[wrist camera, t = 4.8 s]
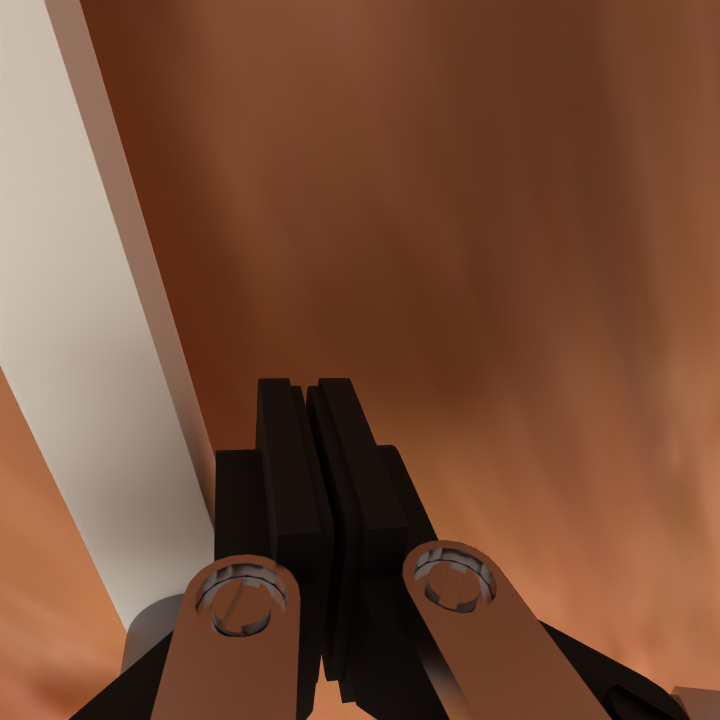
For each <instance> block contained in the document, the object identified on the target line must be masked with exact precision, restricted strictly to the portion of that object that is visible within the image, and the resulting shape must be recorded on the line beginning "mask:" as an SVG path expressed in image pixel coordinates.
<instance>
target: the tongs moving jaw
mask: <svg viewBox="0 0 720 720" xmlns="http://www.w3.org/2000/svg"><path fill="white" fill-rule="evenodd" d="M0 366H1V368H2V371H3V373H4V375H5V377H6V379H7V381H8V383H9V385H10V387H11V390H12V392H13V394H14V396H15V398H16V400H17V402H18V404H19V406H20V408H21V411H22V413H23V415H24V417H25V419H26V421H27V423H28V425H29V427H30V430H31V432H32V434H33V436H34V438H35V440H36V442H37V444H38V446H39V449H40V451H41V453H42V455H43V457H44V459H45V461H46V463H47V465H48V467H49V470H50V472H51V474H52V476H53V478H54V480H55V482H56V484H57V486H58V489H59V491H60V493H61V495H62V497H63V499H64V501H65V503H66V505H67V508H68V510H69V512H70V514H71V516H72V518H73V520H74V522H75V524H76V526H77V529H78V531H79V533H80V535H81V537H82V539H83V541H84V543H85V545H86V548H87V550H88V552H89V554H90V556H91V558H92V560H93V562H94V564H95V566H96V569H97V571H98V573H99V575H100V577H101V579H102V581H103V583H104V585H105V588H106V590H107V592H108V594H109V596H110V598H111V600H112V602H113V604H114V607H115V609H116V611H117V613H118V615H119V617H120V619H121V621H122V623H123V625H124V628H125V630H126V632H127V637H126V643H125V649H124V655H123V661H122V667H121V673H120V675H121V674H122V673H124V672H125V671H126V670H127V669H128V668H129V667H131V666H132V665H133V664H134V663H135V662H136V661H138V660H139V659H140V658H141V657H142V656H143V655H145V654H146V653H147V652H148V651H149V650H150V649H152V648H153V647H154V646H155V645H156V644H157V643H159V642H160V641H161V640H162V639H163V638H164V637H166V636H167V635H168V634H169V633H170V632H171V631H173V630H174V628H175V625H176V621H177V617H178V613H179V609H180V606H181V602H182V598H183V595H184V593H185V591H186V589H187V586H188V584H189V582H190V581H191V580H192V579H193V578H194V577H195V576H196V574H197V573H198V572H199V571H200V570H201V569H203V568H205V567H206V566H208V565H210V564H211V563H213V562H214V531H215V471H216V461H215V458H214V454H213V451H212V448H211V444H210V441H209V438H208V434H207V431H206V427H205V424H204V421H203V417H202V414H201V410H200V407H199V404H198V400H197V397H196V393H195V390H194V387H193V383H192V380H191V376H190V373H189V370H188V366H187V363H186V360H185V356H184V353H183V349H182V346H181V343H180V339H179V336H178V332H177V329H176V326H175V322H174V319H173V315H172V312H171V309H170V305H169V302H168V299H167V295H166V292H165V288H164V285H163V282H162V278H161V275H160V271H159V268H158V265H157V261H156V258H155V254H154V251H153V248H152V244H151V241H150V238H149V234H148V231H147V227H146V224H145V221H144V217H143V214H142V210H141V207H140V204H139V200H138V197H137V193H136V190H135V187H134V183H133V180H132V177H131V173H130V170H129V166H128V163H127V160H126V156H125V153H124V149H123V146H122V143H121V139H120V136H119V132H118V129H117V126H116V122H115V119H114V116H113V112H112V109H111V105H110V102H109V99H108V95H107V92H106V88H105V85H104V82H103V78H102V75H101V71H100V68H99V65H98V61H97V58H96V54H95V51H94V48H93V44H92V41H91V38H90V34H89V31H88V27H87V24H86V21H85V17H84V14H83V10H82V7H81V4H80V0H0Z"/></svg>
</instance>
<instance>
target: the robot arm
mask: <svg viewBox="0 0 720 720" xmlns="http://www.w3.org/2000/svg"><path fill="white" fill-rule="evenodd" d="M321 654H322V660H323V666H324V672H325V677H326V680H327V681H335V680H338V683H339V688H340V693H341V699H342V703H348V702H355V701H356V705H357V706H358V707H360V708H361V709H363V710H364V711H365V712H367V713H368V714H370V715H371V716H373V717H374V720H720V691H716V690H707V689H697V688H687V687H678V686H675V687H674V689H673V690H672V692H671V694H668V693H667V692H666V691H665V690H664V689H663V688H661V687H660V686H658V685H657V684H655V683H653V682H652V681H650V680H649V679H647V678H646V677H644V676H642V675H641V674H639V673H637V672H635V671H633V670H631V669H629V668H627V667H626V666H624V665H622V664H620V663H618V662H616V661H614V660H613V659H611V658H609V657H607V656H605V655H603V654H601V653H600V652H598V651H596V650H594V649H592V648H590V647H588V646H587V645H585V644H583V643H581V642H579V641H577V640H575V639H574V638H572V637H570V636H568V635H566V634H564V633H562V632H560V631H559V630H557V629H555V628H553V627H551V626H549V625H547V624H546V623H544V622H542V621H540V620H538V619H537V618H536V616H535V615H534V614H533V612H532V611H531V610H530V608H529V607H528V606H527V604H526V603H525V602H524V600H523V599H522V598H521V596H520V595H519V594H518V592H517V591H516V590H515V588H514V587H513V585H512V584H511V583H510V581H509V580H508V579H507V577H506V576H505V575H504V573H503V572H502V571H501V569H500V568H499V567H498V566H497V565H496V564H495V563H494V562H493V561H492V560H491V559H490V558H489V557H488V556H487V555H485V554H484V553H482V552H480V551H479V550H477V549H476V548H473V547H471V546H468V545H466V544H463V543H460V542H454V541H448V540H438V538H437V536H436V534H435V531H434V529H433V527H432V525H431V522H430V520H429V518H428V516H427V514H426V511H425V509H424V507H423V505H422V503H421V500H420V498H419V496H418V494H417V492H416V489H415V487H414V485H413V483H412V481H411V478H410V476H409V474H408V472H407V469H406V467H405V465H404V463H403V461H402V458H401V456H400V454H399V452H398V450H397V449H396V447H395V446H393V445H379V446H377V445H376V442H375V440H374V437H373V435H372V432H371V430H370V427H369V425H368V422H367V420H366V417H365V415H364V412H363V410H362V408H361V405H360V403H359V400H358V398H357V395H356V393H355V390H354V388H353V385H352V383H351V380H350V379H349V378H320V379H319V381H318V386H308V389H307V398H306V406H305V402H304V398H303V394H302V389H301V386H291V385H290V381H289V379H288V378H264V379H259V380H258V393H257V420H256V447H255V449H251V450H219V451H216V471H215V531H214V562H213V563H211V564H210V565H208V566H206V567H205V568H203V569H201V570H200V571H199V572H198V573H197V574H196V576H195V577H194V578H193V579H192V580H191V581H190V582H189V584H188V586H187V589H186V591H185V593H184V595H183V598H182V602H181V606H180V609H179V613H178V617H177V621H176V625H175V628H174V630H173V631H171V632H170V633H169V634H168V635H167V636H166V637H164V638H163V639H162V640H161V641H160V642H159V643H157V644H156V645H155V646H154V647H153V648H152V649H150V650H149V651H148V652H147V653H146V654H145V655H143V656H142V657H141V658H140V659H139V660H138V661H136V662H135V663H134V664H133V665H132V666H131V667H129V668H128V669H127V670H126V671H125V672H124V673H122V674H121V675H120V676H119V677H118V678H117V679H115V680H114V681H113V682H112V683H111V684H110V685H108V686H107V687H106V688H105V689H104V690H103V691H101V692H100V693H99V694H98V695H97V696H96V697H94V698H93V699H92V700H91V701H90V702H89V703H87V704H86V705H85V706H84V707H83V708H82V709H80V710H79V711H78V712H77V713H76V714H75V715H73V716H72V717H71V718H70V719H69V720H306V719H307V718H308V717H309V715H310V714H311V713H312V711H313V704H314V696H315V687H316V683H317V682H318V678H319V669H320V661H321Z"/></svg>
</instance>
